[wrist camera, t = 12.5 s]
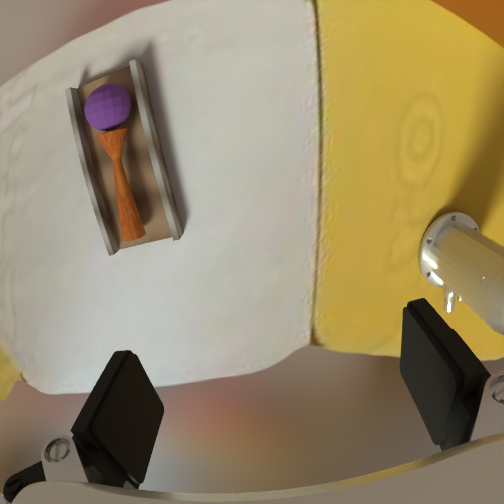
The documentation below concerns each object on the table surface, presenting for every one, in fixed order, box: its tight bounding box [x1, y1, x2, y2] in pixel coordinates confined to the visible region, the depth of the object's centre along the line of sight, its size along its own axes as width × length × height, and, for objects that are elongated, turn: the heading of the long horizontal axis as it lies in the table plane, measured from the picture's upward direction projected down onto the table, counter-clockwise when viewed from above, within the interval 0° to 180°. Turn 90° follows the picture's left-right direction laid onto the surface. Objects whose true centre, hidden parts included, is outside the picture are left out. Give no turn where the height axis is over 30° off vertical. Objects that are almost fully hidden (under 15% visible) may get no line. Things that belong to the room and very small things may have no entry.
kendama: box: [84, 84, 146, 241], centre depth 35 cm, size 6×6×20 cm
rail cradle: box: [66, 59, 183, 256], centre depth 37 cm, size 24×11×3 cm, turn 12°
